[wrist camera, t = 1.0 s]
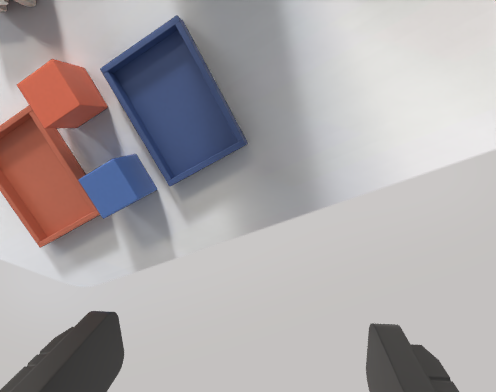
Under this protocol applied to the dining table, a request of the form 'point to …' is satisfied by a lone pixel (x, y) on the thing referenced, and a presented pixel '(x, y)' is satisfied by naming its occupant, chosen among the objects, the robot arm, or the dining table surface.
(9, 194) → the terracotta tray
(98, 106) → the terracotta block
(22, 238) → the dining table surface
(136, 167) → the blue block
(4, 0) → the egg carton
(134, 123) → the blue tray
